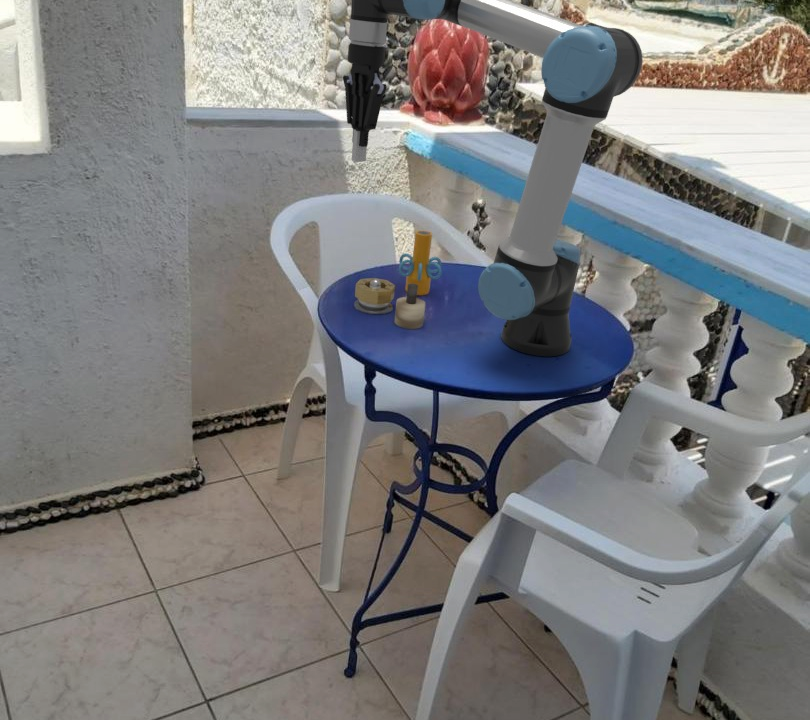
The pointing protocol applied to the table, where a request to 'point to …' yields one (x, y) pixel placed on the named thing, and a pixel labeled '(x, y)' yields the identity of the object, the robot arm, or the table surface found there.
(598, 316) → the table surface
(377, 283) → the hub
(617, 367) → the table surface
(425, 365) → the table surface
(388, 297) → the ring
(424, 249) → the cylinder
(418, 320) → the stand
